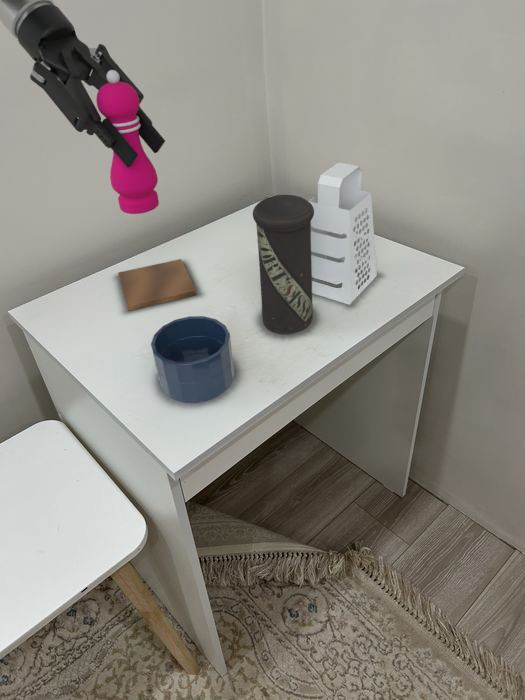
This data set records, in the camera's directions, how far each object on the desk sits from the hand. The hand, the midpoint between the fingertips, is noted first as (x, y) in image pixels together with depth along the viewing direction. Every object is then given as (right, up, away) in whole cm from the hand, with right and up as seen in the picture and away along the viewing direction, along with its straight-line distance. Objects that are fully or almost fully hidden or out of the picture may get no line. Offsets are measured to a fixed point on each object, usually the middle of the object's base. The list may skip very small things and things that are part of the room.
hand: (146, 153), depth 81 cm
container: (+21, -24, +8) cm, 33 cm away
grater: (+30, -17, +15) cm, 38 cm away
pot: (+8, -33, -2) cm, 34 cm away
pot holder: (-2, -18, +18) cm, 25 cm away
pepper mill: (-3, -6, +7) cm, 10 cm away
